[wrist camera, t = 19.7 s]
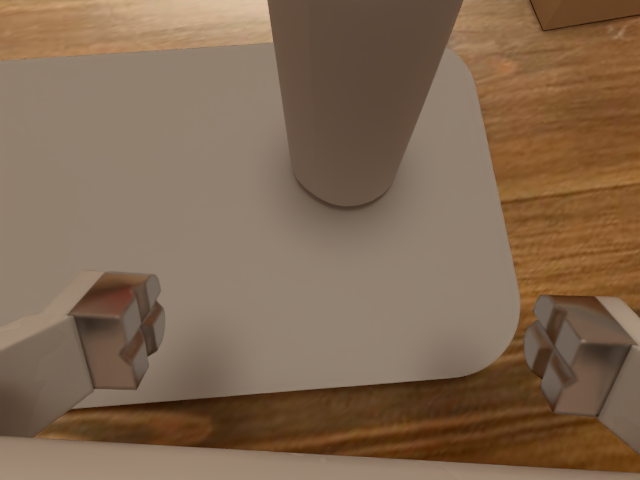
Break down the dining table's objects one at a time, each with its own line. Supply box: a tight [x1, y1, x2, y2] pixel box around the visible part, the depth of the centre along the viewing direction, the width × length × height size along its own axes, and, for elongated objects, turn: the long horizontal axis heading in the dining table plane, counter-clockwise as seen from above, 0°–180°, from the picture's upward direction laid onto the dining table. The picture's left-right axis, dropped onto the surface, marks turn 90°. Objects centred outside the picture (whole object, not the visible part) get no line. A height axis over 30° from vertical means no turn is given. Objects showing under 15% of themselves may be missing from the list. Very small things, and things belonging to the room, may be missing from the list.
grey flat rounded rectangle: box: [0, 43, 520, 409], centre depth 20 cm, size 16×26×2 cm, turn 94°
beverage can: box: [268, 0, 463, 207], centre depth 14 cm, size 5×5×12 cm
